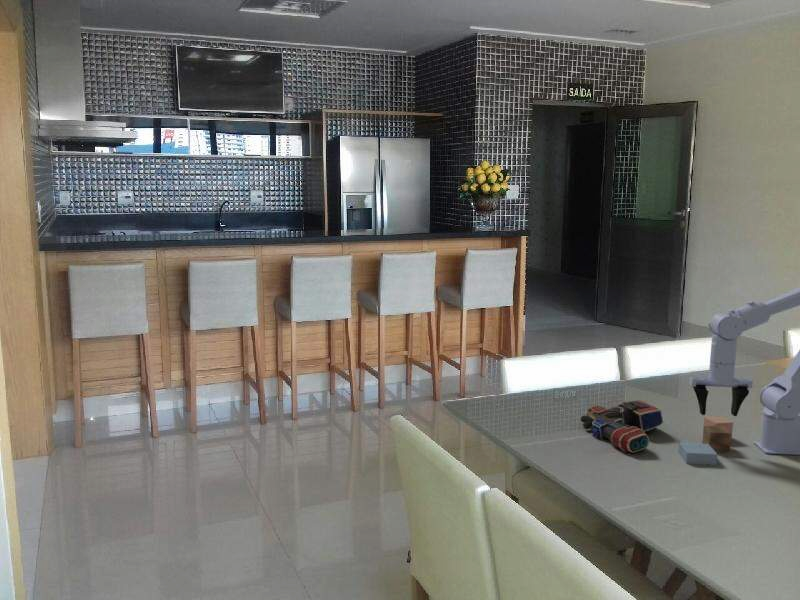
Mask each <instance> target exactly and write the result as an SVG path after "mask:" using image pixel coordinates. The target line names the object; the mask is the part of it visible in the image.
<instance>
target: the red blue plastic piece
mask: <svg viewBox="0 0 800 600" xmlns="http://www.w3.org/2000/svg"><path fill="white" fill-rule="evenodd" d="M580 422H581V423H583V424H582V428H583V429H584V430H589V431H591V433H592V434H594V436H596V437H598V438H599V439H601V440H602V439H603V440H605V439H608V440H609V442H610V443H611V445H613V446H614V447H615V448H617V449H618V450H621V451H623V452H628V453H636V452H639V451H642V450H645V449H647V448H648V447H649V444H650V439H649V436H648V435H647V434H646V432H649V431H651V430H653V429H655V428H657V427H660V426H661V425H662V424H663V423H664V420H663V415H662V410H661V409H660V408H659V407H656V406H654V405H651V404H650V403H647V402H645V401H642V400H640V399H639V400H638V399H634V400H629V401H623V402H619V403H618V404H617V406H615V405H614V406H611V408H609V409H608V408H606V407H603V406H601V405H595V406H592V407H589V408H588V409H587V413H586V415H582V416H581V417H580Z"/></svg>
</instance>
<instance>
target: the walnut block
mask: <svg viewBox="0 0 800 600" xmlns="http://www.w3.org/2000/svg"><path fill="white" fill-rule="evenodd" d="M730 439H731V433H730V432H729V431H728V430H727V429H726V428H725V427H719V426H704V425H703V431H702V442H701V444H709V445H710V447H711V448H712V449H713V450H714V451H715V452H716V453H717V452H718V453H730V450H731V441H730Z"/></svg>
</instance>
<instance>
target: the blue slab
mask: <svg viewBox="0 0 800 600" xmlns="http://www.w3.org/2000/svg"><path fill="white" fill-rule="evenodd" d="M677 453H678V454H679V456H680V457H681V458H682V460H683V461H684V463H685V464H687V465H688V464H689V465H706V464H710V465H711V466H712V465H713V466H717V465H718V453H717V452H715V451H714V450H713V449H712V448H711V447H710V445H709V444H702V443H697V442H696V443H692V442H678V451H677Z"/></svg>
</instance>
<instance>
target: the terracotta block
mask: <svg viewBox="0 0 800 600" xmlns="http://www.w3.org/2000/svg"><path fill="white" fill-rule="evenodd" d="M704 426H719V427H725V428H726V429H727V430H728V431H729V432H730V433H731V439H730V442H731V441H732V440H733V428H734V422H733V421H731V420H730V419H728V418H725V417H724V416H722V415H721V416H706V417H704V418H703V427H704Z"/></svg>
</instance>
